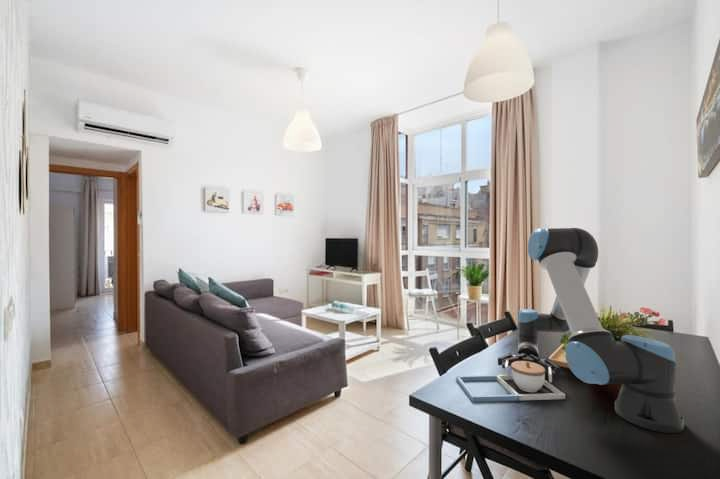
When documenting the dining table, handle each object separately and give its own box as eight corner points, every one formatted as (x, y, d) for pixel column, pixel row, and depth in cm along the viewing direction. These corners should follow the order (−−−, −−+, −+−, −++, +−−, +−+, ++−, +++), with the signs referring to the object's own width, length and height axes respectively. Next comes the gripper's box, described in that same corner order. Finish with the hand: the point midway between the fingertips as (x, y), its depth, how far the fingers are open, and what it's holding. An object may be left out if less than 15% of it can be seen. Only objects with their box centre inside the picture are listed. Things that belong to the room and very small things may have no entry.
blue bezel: (519, 400, 105) (519, 395, 105) (472, 401, 105) (472, 397, 105) (496, 378, 121) (496, 374, 121) (456, 379, 121) (456, 375, 121)
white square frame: (565, 399, 106) (565, 394, 106) (517, 400, 105) (517, 395, 105) (536, 377, 122) (536, 373, 122) (495, 378, 121) (495, 374, 121)
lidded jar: (540, 383, 117) (540, 357, 117) (549, 397, 107) (549, 369, 107) (508, 380, 120) (508, 355, 120) (514, 393, 110) (514, 366, 110)
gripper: (564, 369, 124) (570, 392, 105) (494, 358, 136) (489, 377, 117) (564, 349, 124) (570, 370, 105) (494, 340, 135) (488, 357, 117)
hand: (527, 374), depth 111 cm, fingers open, 13 cm apart
